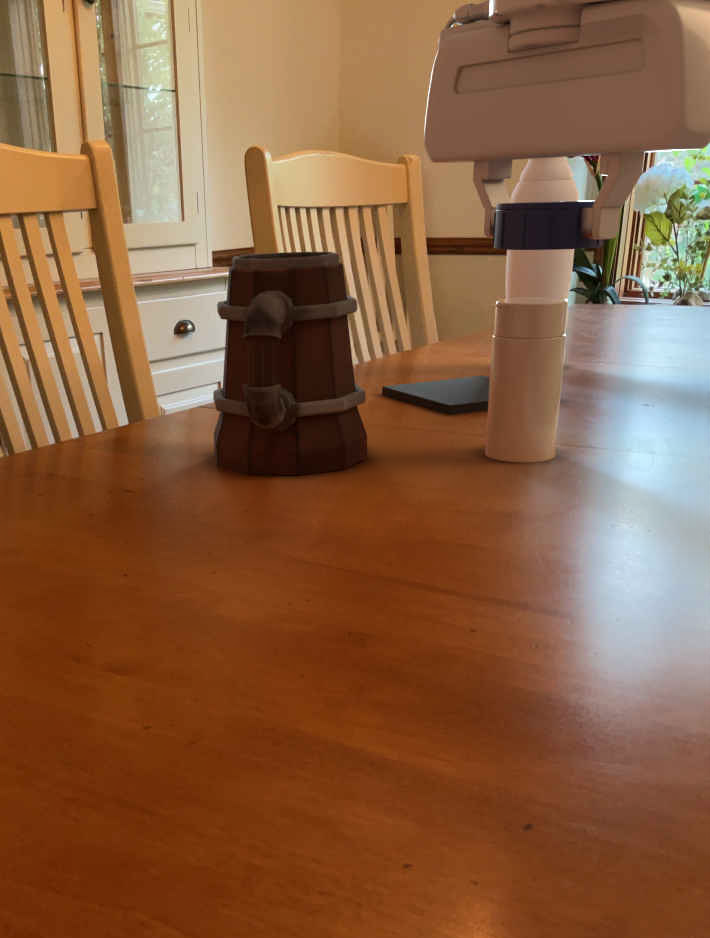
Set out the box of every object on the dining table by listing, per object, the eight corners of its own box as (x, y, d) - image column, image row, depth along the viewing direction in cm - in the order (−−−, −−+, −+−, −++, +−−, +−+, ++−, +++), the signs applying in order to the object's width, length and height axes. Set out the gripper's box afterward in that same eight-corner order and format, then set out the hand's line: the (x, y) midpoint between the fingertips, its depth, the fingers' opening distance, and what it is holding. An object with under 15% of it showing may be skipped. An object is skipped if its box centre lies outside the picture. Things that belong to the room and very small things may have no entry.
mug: (232, 441, 88) (226, 251, 82) (376, 444, 85) (380, 248, 79) (178, 489, 74) (165, 265, 68) (347, 495, 71) (350, 262, 65)
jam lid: (471, 249, 67) (474, 204, 66) (542, 244, 70) (545, 201, 69) (552, 250, 62) (556, 202, 61) (624, 245, 65) (629, 199, 64)
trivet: (481, 385, 109) (482, 375, 108) (557, 403, 99) (558, 392, 98) (381, 396, 105) (382, 386, 104) (449, 416, 94) (450, 405, 94)
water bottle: (495, 372, 116) (511, 122, 106) (503, 362, 122) (519, 125, 112) (561, 373, 114) (584, 118, 104) (565, 364, 120) (587, 122, 110)
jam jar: (522, 445, 83) (534, 295, 78) (569, 457, 79) (584, 300, 74) (470, 454, 81) (479, 300, 76) (516, 467, 76) (528, 305, 72)
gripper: (406, 6, 67) (399, 237, 72) (689, -60, 51) (653, 243, 56) (477, 12, 70) (465, 233, 75) (765, -48, 54) (724, 238, 59)
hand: (547, 238), depth 65 cm, fingers closed on jam lid, 6 cm apart
